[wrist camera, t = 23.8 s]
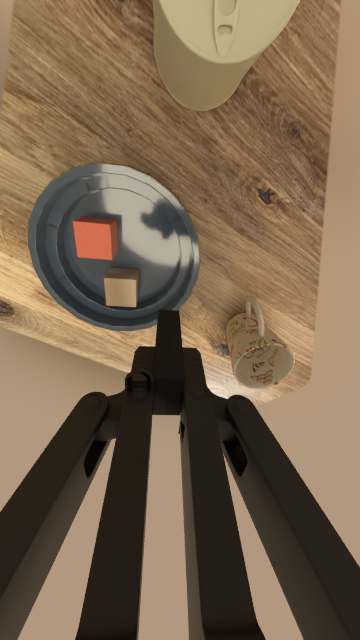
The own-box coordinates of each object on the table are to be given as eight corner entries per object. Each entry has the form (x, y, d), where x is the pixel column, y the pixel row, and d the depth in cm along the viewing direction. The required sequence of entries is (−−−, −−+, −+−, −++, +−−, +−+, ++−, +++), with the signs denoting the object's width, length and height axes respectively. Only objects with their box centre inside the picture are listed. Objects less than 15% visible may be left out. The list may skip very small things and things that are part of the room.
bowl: (204, 175, 27) (212, 175, 23) (186, 316, 37) (189, 333, 33) (30, 156, 25) (3, 151, 21) (62, 309, 35) (49, 327, 31)
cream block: (139, 269, 32) (136, 279, 28) (139, 294, 34) (136, 307, 30) (110, 267, 31) (103, 277, 28) (112, 293, 33) (106, 305, 30)
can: (154, 109, 23) (147, 55, 13) (151, -42, 18) (136, -310, 8) (241, 114, 24) (297, 66, 14) (260, -31, 19) (369, -267, 9)
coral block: (116, 218, 28) (110, 224, 25) (118, 251, 30) (112, 260, 27) (83, 215, 28) (72, 220, 24) (87, 248, 30) (77, 257, 26)
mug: (221, 349, 41) (235, 393, 33) (213, 288, 35) (229, 323, 26) (266, 341, 41) (293, 383, 32) (267, 277, 34) (300, 309, 26)
